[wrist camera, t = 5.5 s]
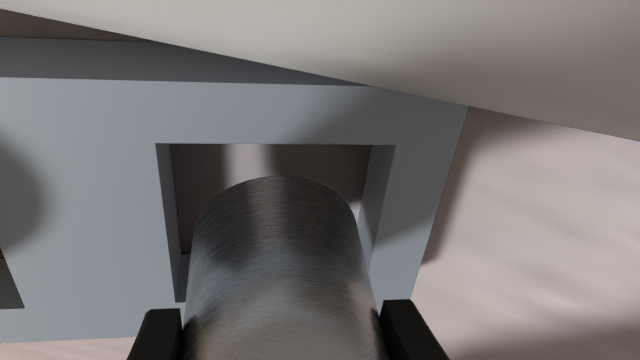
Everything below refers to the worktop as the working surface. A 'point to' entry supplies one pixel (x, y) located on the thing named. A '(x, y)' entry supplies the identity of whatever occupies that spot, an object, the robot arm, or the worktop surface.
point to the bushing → (279, 277)
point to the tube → (414, 47)
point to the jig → (157, 178)
